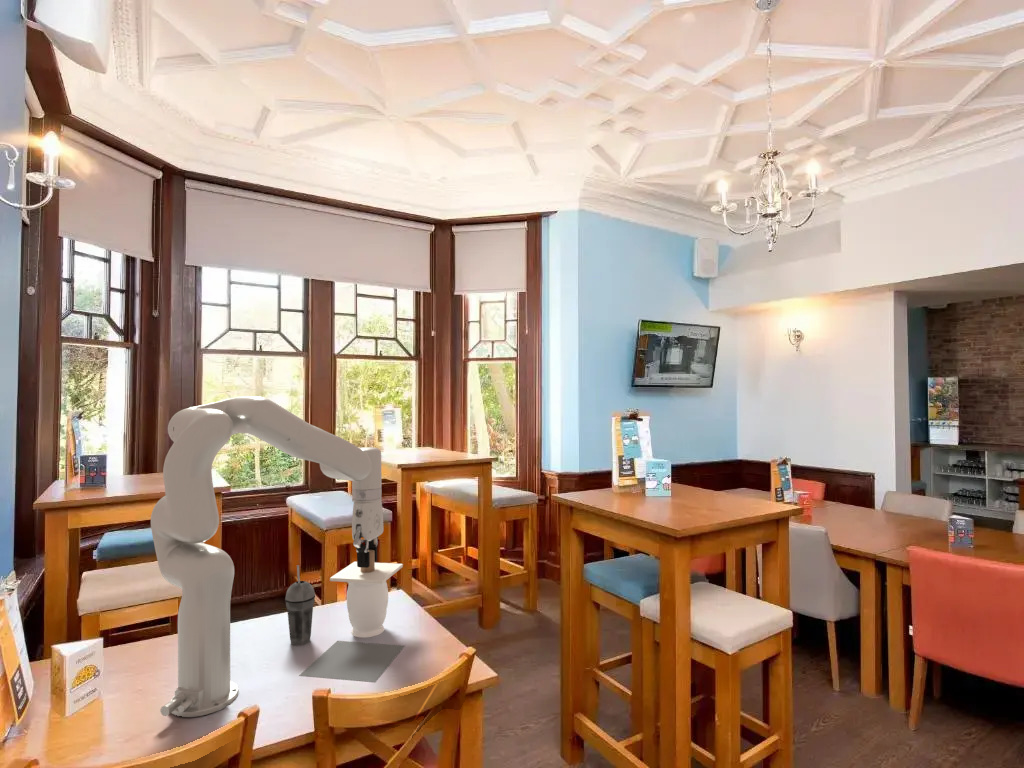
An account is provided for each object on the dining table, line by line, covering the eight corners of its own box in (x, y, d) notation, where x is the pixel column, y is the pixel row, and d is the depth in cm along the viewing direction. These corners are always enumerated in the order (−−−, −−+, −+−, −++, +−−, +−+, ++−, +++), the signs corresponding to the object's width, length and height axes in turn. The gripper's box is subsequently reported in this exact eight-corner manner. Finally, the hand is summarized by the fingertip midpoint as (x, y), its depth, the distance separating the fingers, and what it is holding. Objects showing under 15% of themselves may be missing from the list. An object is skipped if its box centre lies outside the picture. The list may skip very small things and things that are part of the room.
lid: (382, 583, 143) (381, 560, 143) (329, 581, 146) (329, 558, 146) (402, 566, 157) (402, 545, 157) (354, 564, 160) (354, 543, 160)
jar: (342, 641, 146) (342, 582, 146) (352, 624, 156) (351, 569, 157) (384, 640, 146) (384, 581, 147) (391, 624, 157) (391, 568, 157)
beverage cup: (320, 637, 148) (320, 560, 149) (307, 650, 141) (307, 568, 141) (293, 636, 149) (293, 559, 149) (279, 649, 142) (279, 568, 142)
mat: (375, 684, 125) (375, 682, 125) (298, 677, 128) (298, 675, 128) (405, 647, 142) (405, 645, 142) (337, 642, 145) (337, 640, 145)
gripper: (366, 501, 143) (367, 575, 143) (392, 489, 159) (392, 556, 159) (338, 500, 144) (338, 573, 144) (367, 489, 161) (367, 554, 161)
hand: (367, 563), depth 152 cm, fingers open, 4 cm apart
